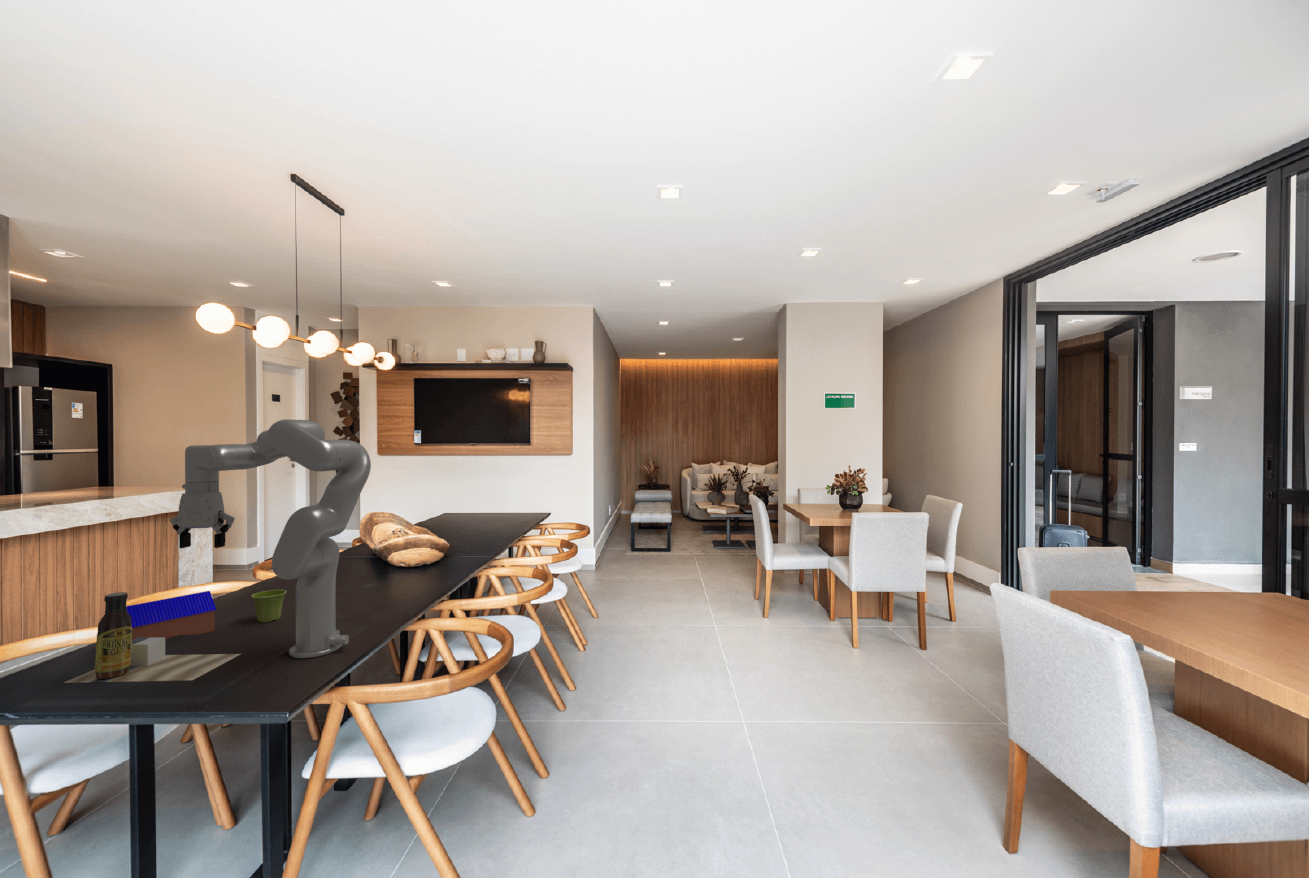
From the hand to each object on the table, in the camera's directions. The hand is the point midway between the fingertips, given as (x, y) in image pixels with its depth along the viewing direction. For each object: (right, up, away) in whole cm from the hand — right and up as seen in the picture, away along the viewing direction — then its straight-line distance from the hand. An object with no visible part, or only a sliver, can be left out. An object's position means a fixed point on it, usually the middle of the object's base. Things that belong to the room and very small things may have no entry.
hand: (202, 547), depth 155 cm
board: (+4, -28, -18) cm, 34 cm away
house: (-17, -29, +7) cm, 34 cm away
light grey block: (-3, -27, -15) cm, 31 cm away
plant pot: (+3, -29, +22) cm, 36 cm away
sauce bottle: (-3, -27, -22) cm, 35 cm away
